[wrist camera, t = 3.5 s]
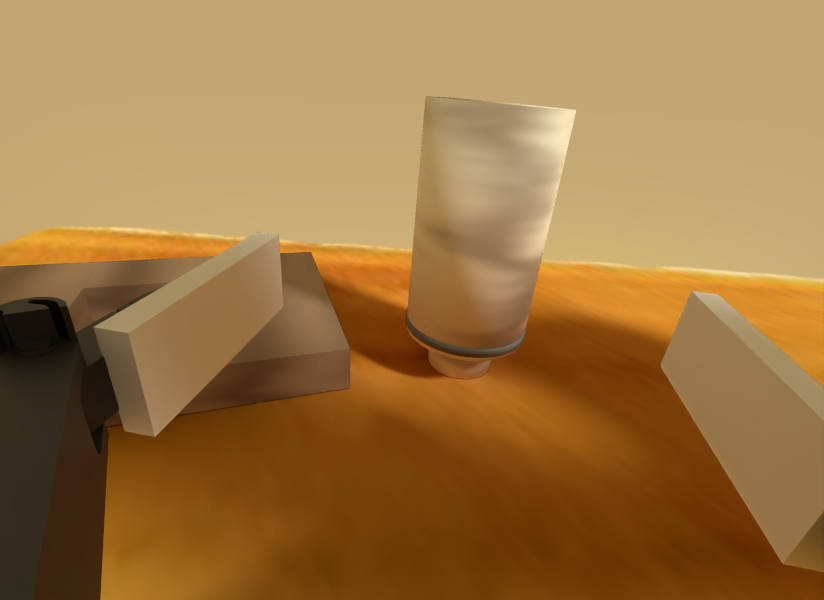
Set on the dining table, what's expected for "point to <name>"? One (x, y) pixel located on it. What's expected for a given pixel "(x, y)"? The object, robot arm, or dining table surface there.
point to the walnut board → (256, 362)
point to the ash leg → (481, 227)
